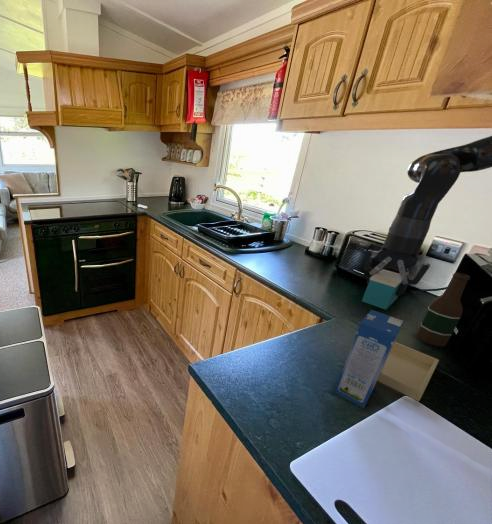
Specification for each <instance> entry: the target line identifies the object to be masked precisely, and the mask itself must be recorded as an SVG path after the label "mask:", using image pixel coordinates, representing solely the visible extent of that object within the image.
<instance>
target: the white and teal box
mask: <svg viewBox="0 0 492 524" xmlns="http://www.w3.org/2000/svg"><path fill="white" fill-rule="evenodd" d="M401 282H402V281H401V276H400V273H398V272H396V271H391V270H389V269H385V268H382V269H381V270H379V271H378V272H377V273H376V274H375V275H373V276H372V277H370V281H369V284H367V286H366V289H365V292H364V295H363V297H362V300H361V302H363V303H366V304H369V305H371V306H374V307H377V308H380V309H381V310H385V311H386V310H387V309H388V308H390V306H391V305H392V304H393V303H394V302H395V301H397V299H398V298H399V296H396V295H395V294H396V292H397V290H398V287H399V285H400V283H401Z"/></svg>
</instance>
